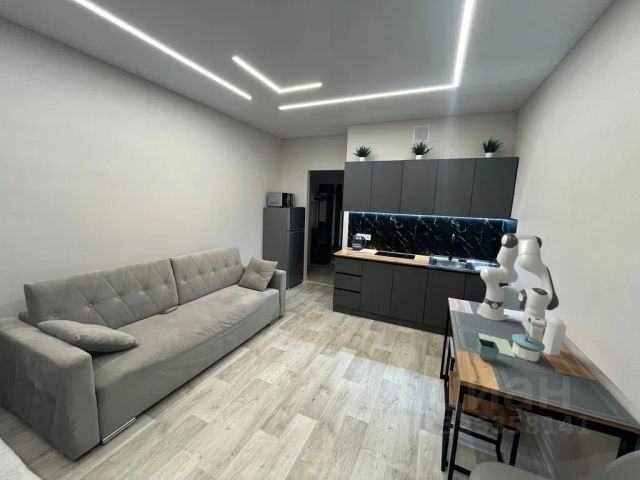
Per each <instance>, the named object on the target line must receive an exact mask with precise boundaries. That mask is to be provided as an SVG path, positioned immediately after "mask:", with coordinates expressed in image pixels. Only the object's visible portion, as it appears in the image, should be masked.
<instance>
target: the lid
mask: <svg viewBox="0 0 640 480" xmlns="http://www.w3.org/2000/svg"><path fill="white" fill-rule="evenodd" d="M525 335H526V336H525ZM528 337H529V333H526V332H525V334H521V333H515V334H514V333H513V334H512V335H511V340H512V342H513V343H514V342H515V343H517V344H518V345H520V346H523V347H525V348H528V349H531V350H536V351H542V352H544V351H543V350H544V349H545V345H544V344H543V343H542V342H543V341H540V340H536V339H533V340H532V342H530V341H528Z"/></svg>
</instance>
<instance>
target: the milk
mask: <svg viewBox="0 0 640 480" xmlns="http://www.w3.org/2000/svg"><path fill="white" fill-rule="evenodd" d="M544 330H545V331H544V335H543V339H542V341H541V342H542V343H543V344H544V345H545V349H544V350H543V351H542V352H544V353H546V354H547V355H549V356H560V352H561V350H562V345H563V341H564V339H565V334H566V331H567V325H566V324H564V320H562V319H561V318H559V317H557V316H553V317H552V318H550V319H549V320H547V323H546V326H545V329H544Z"/></svg>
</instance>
